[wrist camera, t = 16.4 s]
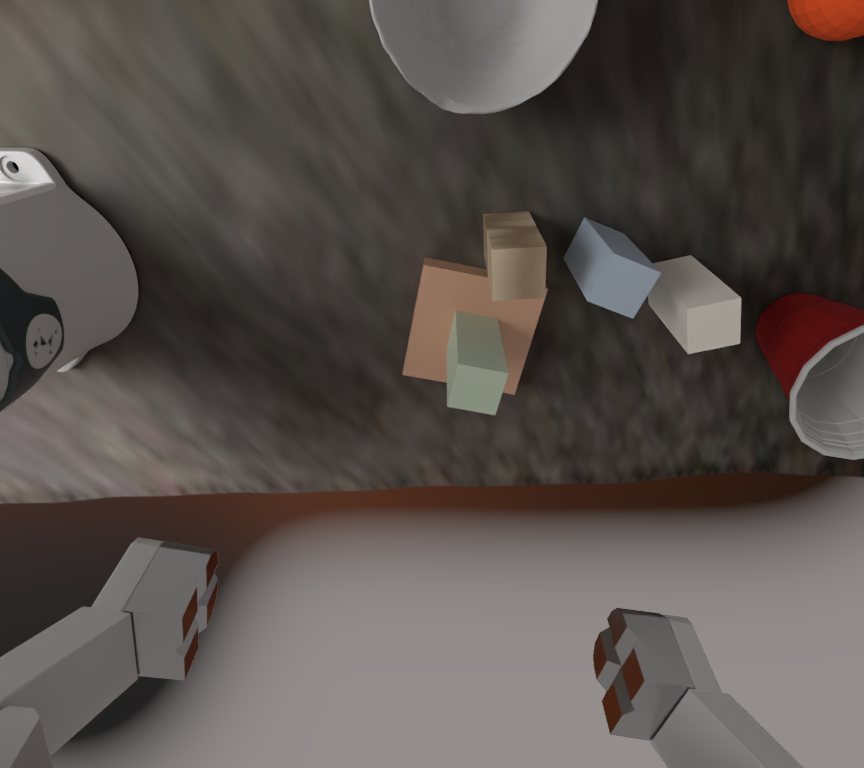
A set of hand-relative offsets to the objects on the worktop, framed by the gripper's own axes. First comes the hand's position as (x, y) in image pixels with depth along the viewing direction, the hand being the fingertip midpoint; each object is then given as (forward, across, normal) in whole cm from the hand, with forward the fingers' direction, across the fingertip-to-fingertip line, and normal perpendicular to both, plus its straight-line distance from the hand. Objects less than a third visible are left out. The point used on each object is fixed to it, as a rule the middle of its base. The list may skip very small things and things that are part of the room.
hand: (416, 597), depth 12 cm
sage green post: (+35, -5, +10) cm, 37 cm away
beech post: (+37, -6, +2) cm, 38 cm away
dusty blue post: (+37, -13, +2) cm, 39 cm away
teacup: (+37, 0, -14) cm, 40 cm away
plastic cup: (+37, -31, +5) cm, 49 cm away
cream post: (+37, -20, +3) cm, 42 cm away
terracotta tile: (+37, -5, +10) cm, 39 cm away
